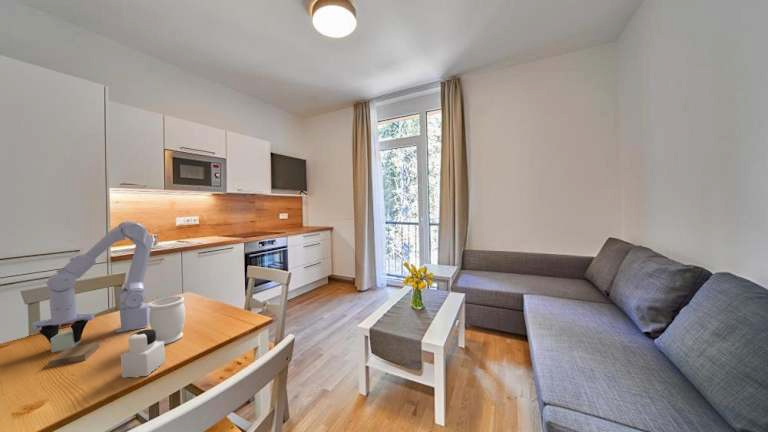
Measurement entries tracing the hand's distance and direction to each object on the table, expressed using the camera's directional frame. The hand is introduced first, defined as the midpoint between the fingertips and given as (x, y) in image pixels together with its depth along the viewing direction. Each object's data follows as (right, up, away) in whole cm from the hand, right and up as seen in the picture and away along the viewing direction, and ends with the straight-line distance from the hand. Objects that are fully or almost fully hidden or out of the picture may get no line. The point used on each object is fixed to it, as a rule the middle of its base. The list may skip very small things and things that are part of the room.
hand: (66, 343), depth 91 cm
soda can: (-20, -1, +16) cm, 26 cm away
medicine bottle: (+40, -2, -13) cm, 42 cm away
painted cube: (0, -1, 0) cm, 1 cm away
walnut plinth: (+11, -2, -6) cm, 12 cm away
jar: (+33, -1, +5) cm, 34 cm away
